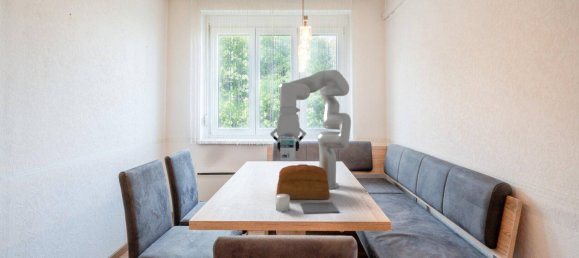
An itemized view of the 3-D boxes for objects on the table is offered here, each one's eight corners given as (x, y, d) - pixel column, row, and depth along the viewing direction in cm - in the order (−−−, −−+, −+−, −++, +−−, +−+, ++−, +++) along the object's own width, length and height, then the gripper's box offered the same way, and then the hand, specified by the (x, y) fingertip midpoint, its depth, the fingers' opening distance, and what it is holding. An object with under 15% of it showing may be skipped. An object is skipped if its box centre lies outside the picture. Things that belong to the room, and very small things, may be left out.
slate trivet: (300, 204, 126) (300, 202, 126) (332, 203, 127) (332, 201, 127) (303, 213, 114) (303, 212, 114) (338, 212, 115) (338, 211, 115)
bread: (331, 201, 131) (331, 168, 130) (275, 200, 131) (275, 168, 130) (327, 191, 147) (327, 162, 146) (277, 191, 148) (277, 162, 147)
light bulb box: (295, 161, 117) (295, 136, 116) (280, 161, 117) (279, 136, 116) (295, 157, 128) (295, 134, 127) (281, 157, 128) (281, 134, 127)
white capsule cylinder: (275, 207, 122) (275, 194, 122) (288, 206, 123) (289, 193, 122) (276, 212, 116) (276, 198, 116) (290, 211, 117) (290, 198, 116)
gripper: (306, 111, 125) (306, 149, 127) (268, 111, 124) (268, 150, 125) (308, 111, 118) (308, 151, 119) (268, 111, 117) (268, 152, 118)
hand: (288, 150), depth 122 cm, fingers closed on light bulb box, 7 cm apart
